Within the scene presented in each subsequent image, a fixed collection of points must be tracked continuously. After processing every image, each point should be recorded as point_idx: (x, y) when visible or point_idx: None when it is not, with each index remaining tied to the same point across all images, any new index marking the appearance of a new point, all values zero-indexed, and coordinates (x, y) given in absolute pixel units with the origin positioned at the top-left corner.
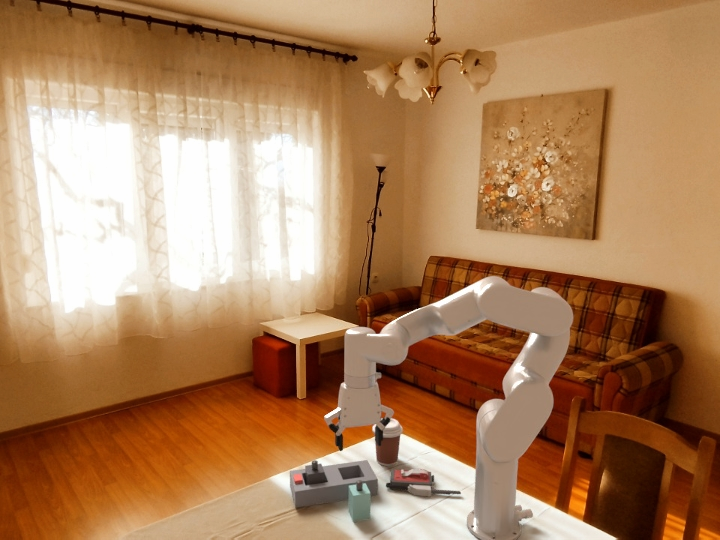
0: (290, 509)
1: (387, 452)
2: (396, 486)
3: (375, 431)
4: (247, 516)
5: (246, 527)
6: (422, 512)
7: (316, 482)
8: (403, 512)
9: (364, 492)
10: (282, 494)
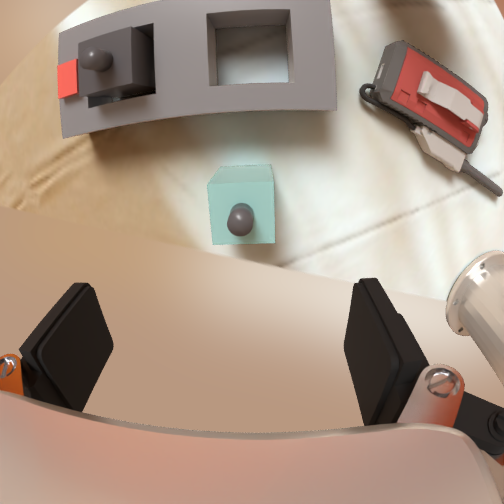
0: (79, 138)
1: None
2: (388, 110)
3: (376, 341)
4: (12, 158)
5: (15, 192)
6: (406, 220)
7: (120, 91)
8: (365, 207)
9: (255, 235)
10: None
